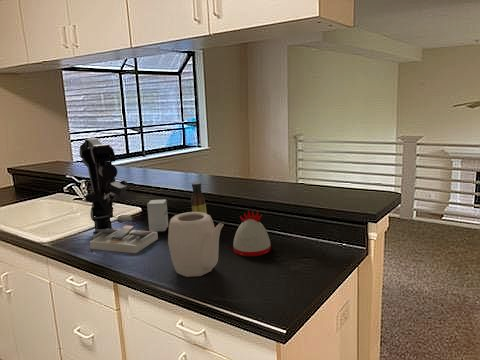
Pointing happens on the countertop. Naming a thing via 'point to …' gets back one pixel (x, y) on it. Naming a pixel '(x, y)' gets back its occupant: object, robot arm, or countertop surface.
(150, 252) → the countertop surface
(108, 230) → the rocker
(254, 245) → the kitchen timer
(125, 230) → the rocker
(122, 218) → the soupspoon
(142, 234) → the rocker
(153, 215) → the supplement box
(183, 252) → the watering can
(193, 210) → the sauce bottle
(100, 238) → the switch board
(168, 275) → the countertop surface
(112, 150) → the robot arm
